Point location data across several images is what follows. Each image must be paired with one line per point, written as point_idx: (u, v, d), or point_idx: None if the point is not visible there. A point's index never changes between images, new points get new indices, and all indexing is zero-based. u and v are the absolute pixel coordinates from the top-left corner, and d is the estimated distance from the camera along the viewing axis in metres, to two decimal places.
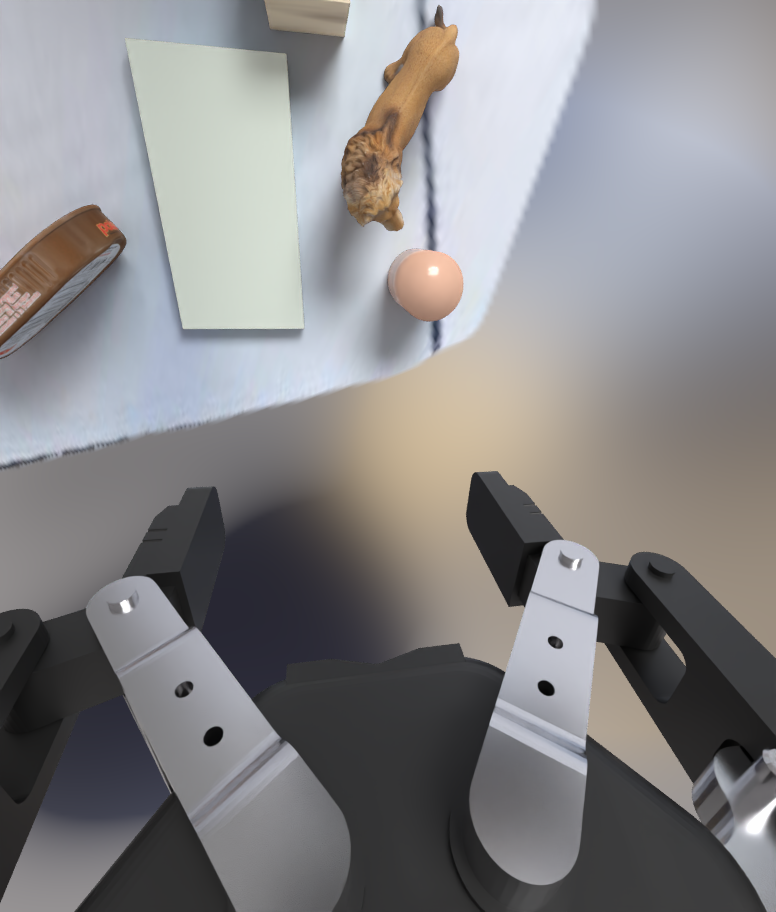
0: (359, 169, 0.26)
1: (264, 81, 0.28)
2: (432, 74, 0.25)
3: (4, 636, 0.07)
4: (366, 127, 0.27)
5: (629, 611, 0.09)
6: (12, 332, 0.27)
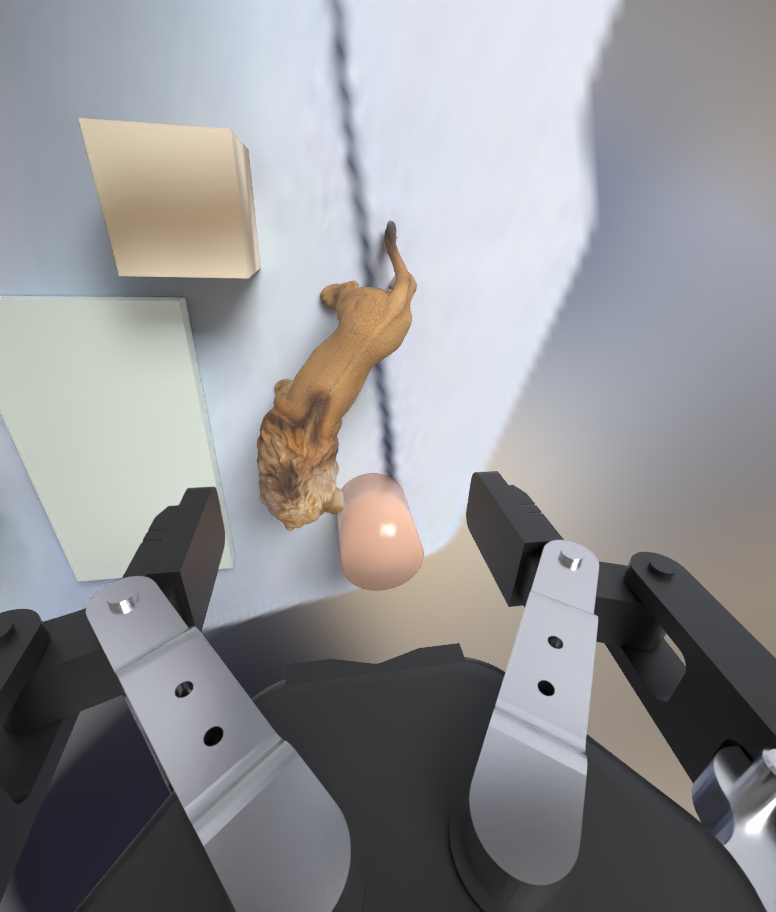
0: (273, 480, 0.19)
1: (152, 332, 0.21)
2: (372, 354, 0.18)
3: (4, 636, 0.07)
4: (286, 408, 0.19)
5: (629, 611, 0.09)
6: None
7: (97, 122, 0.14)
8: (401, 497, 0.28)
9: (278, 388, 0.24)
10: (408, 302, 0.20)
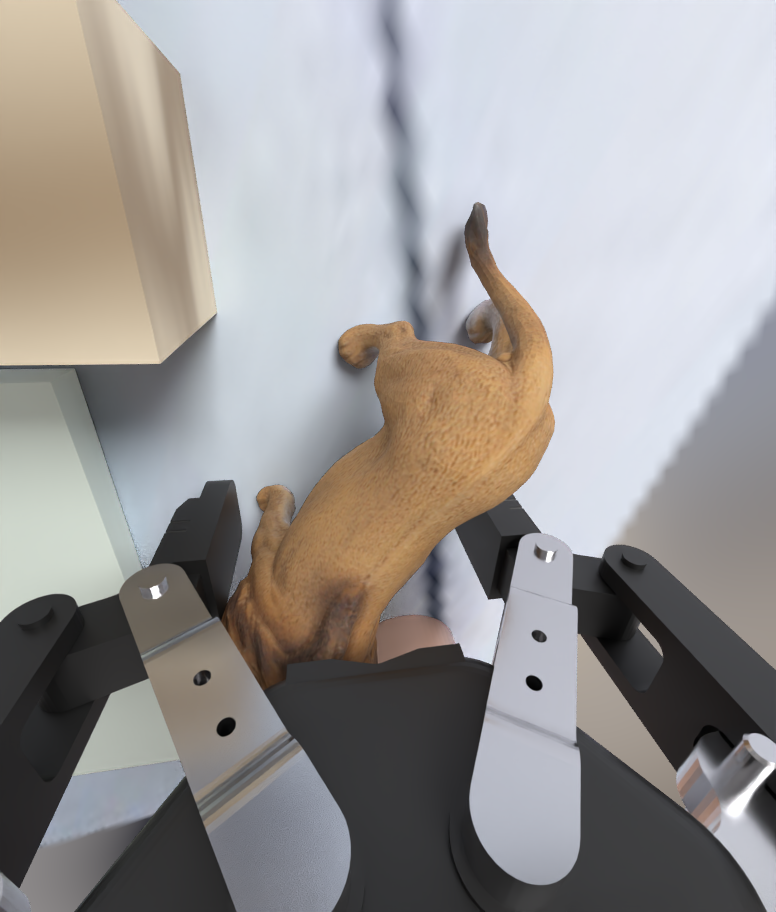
0: None
1: (5, 439, 0.11)
2: (471, 509, 0.08)
3: (43, 619, 0.07)
4: (271, 607, 0.09)
5: (602, 602, 0.09)
6: None
7: None
8: None
9: (262, 501, 0.14)
10: None
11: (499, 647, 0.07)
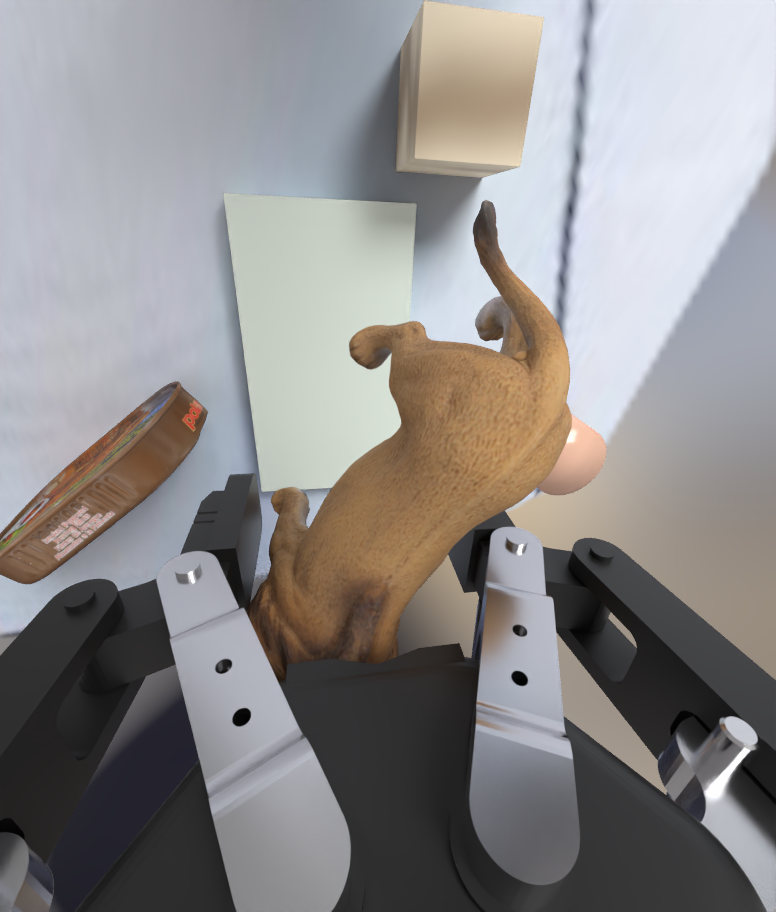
0: None
1: (386, 234, 0.23)
2: (492, 508, 0.08)
3: (86, 603, 0.08)
4: (294, 609, 0.09)
5: (571, 594, 0.10)
6: (76, 552, 0.22)
7: (438, 5, 0.16)
8: None
9: (277, 504, 0.14)
10: None
11: (483, 645, 0.07)
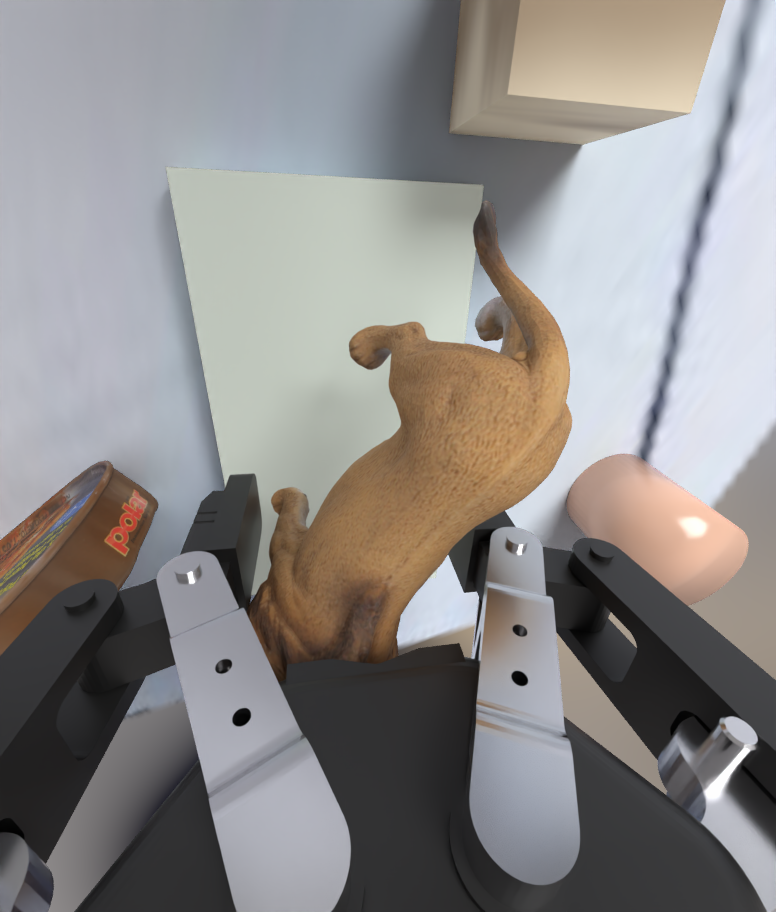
0: None
1: (434, 234, 0.14)
2: (491, 509, 0.08)
3: (86, 603, 0.08)
4: (293, 610, 0.09)
5: (570, 594, 0.10)
6: None
7: None
8: None
9: (277, 504, 0.14)
10: None
11: (483, 645, 0.07)
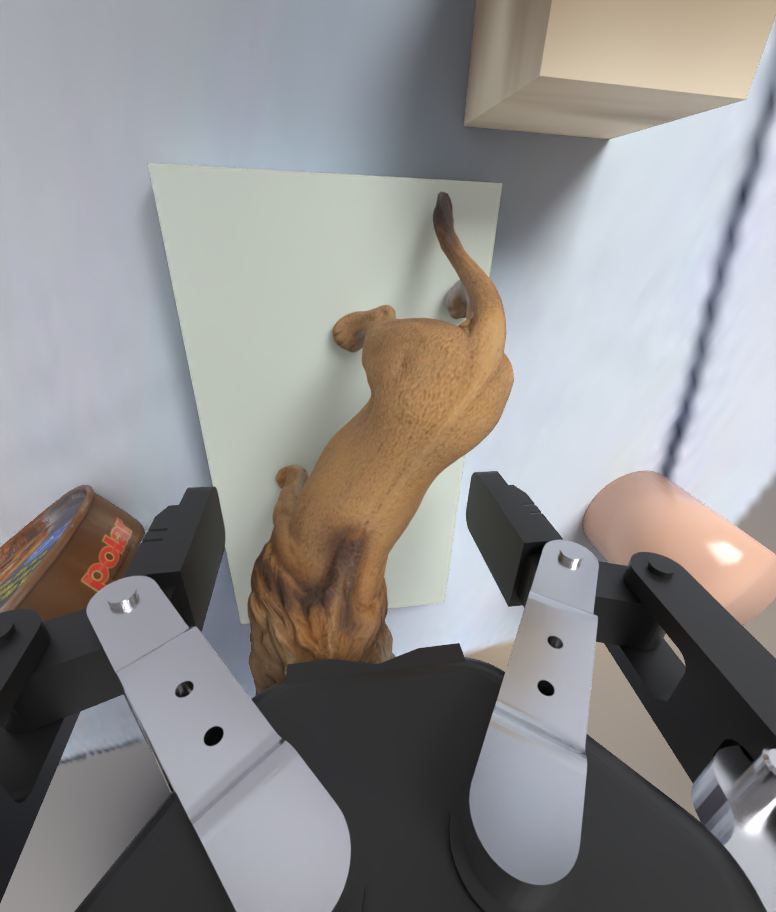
0: None
1: None
2: (446, 455, 0.09)
3: (5, 636, 0.07)
4: (289, 557, 0.11)
5: (629, 611, 0.09)
6: None
7: None
8: None
9: (281, 481, 0.16)
10: None
11: (513, 650, 0.07)
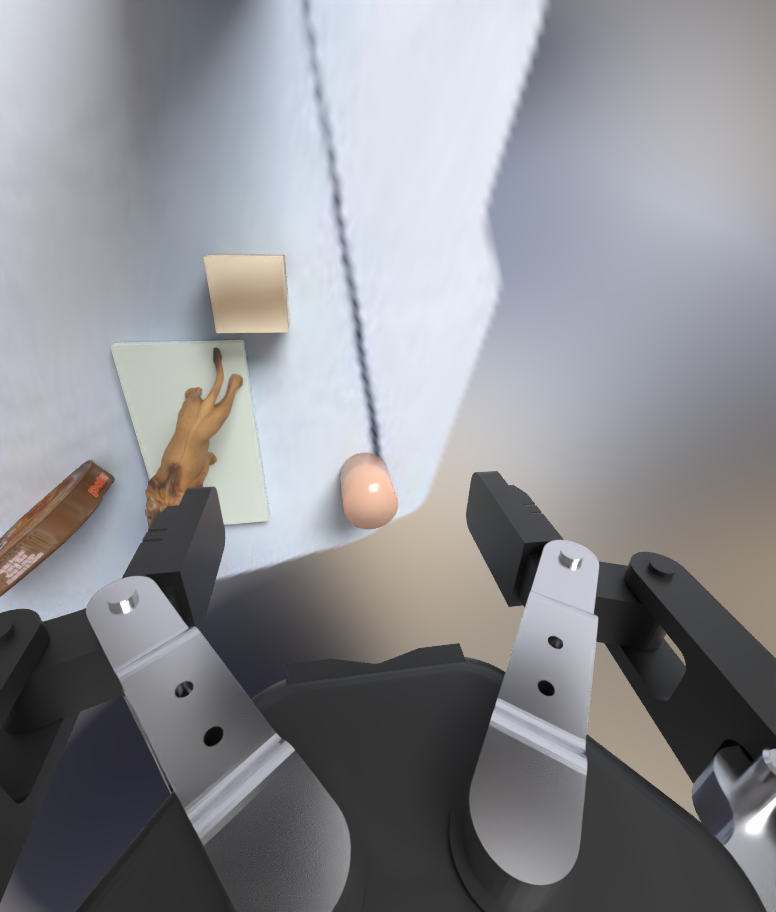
0: (151, 520, 0.31)
1: (224, 361, 0.34)
2: (197, 439, 0.30)
3: (4, 636, 0.07)
4: (158, 475, 0.32)
5: (629, 611, 0.09)
6: (21, 578, 0.33)
7: (212, 258, 0.28)
8: (384, 468, 0.41)
9: None
10: (227, 399, 0.32)
11: (513, 650, 0.07)
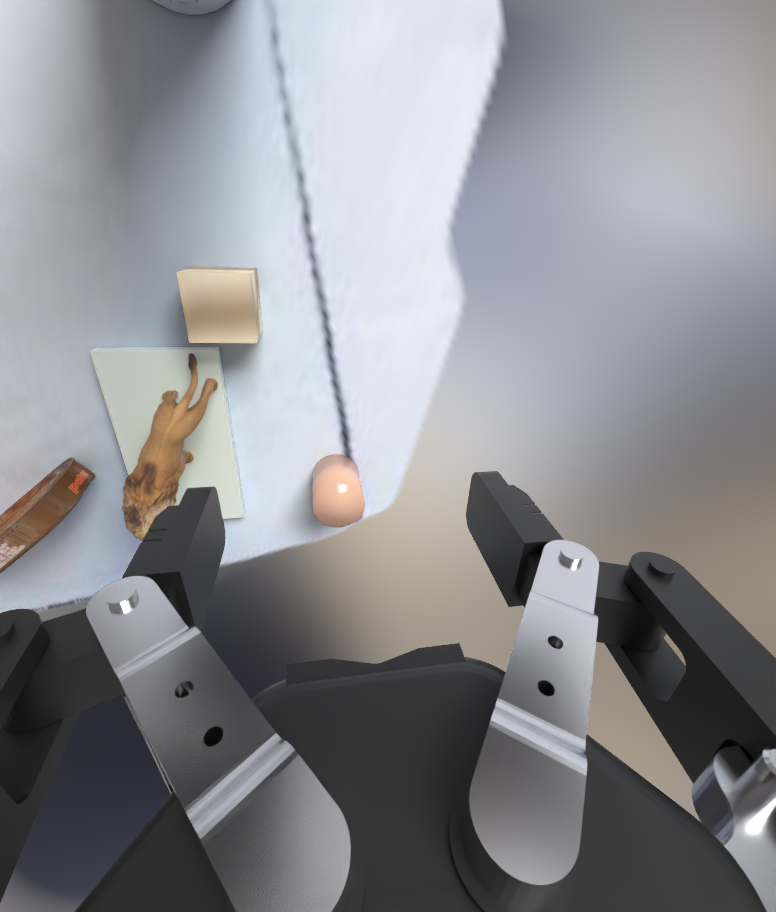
0: (127, 516, 0.33)
1: (200, 367, 0.36)
2: (171, 441, 0.32)
3: (4, 636, 0.07)
4: (134, 473, 0.34)
5: (629, 611, 0.09)
6: (4, 569, 0.35)
7: (185, 273, 0.30)
8: (353, 469, 0.43)
9: None
10: (200, 403, 0.34)
11: (513, 650, 0.07)
